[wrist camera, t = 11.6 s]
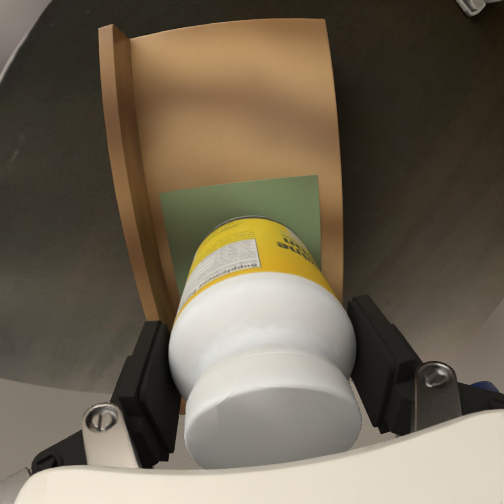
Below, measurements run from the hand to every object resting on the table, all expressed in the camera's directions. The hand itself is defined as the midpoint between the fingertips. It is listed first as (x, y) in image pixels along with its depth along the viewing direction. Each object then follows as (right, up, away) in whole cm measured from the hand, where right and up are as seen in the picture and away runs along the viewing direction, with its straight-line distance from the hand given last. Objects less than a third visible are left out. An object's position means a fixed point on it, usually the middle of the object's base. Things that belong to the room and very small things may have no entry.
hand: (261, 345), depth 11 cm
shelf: (-1, +7, +13) cm, 15 cm away
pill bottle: (0, +3, +7) cm, 7 cm away
